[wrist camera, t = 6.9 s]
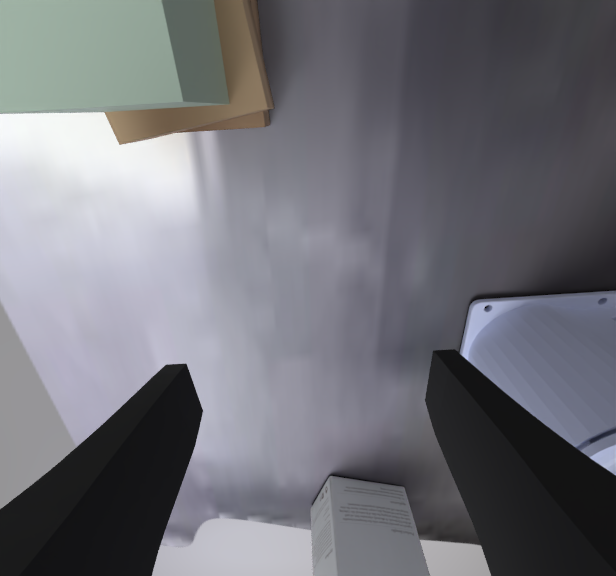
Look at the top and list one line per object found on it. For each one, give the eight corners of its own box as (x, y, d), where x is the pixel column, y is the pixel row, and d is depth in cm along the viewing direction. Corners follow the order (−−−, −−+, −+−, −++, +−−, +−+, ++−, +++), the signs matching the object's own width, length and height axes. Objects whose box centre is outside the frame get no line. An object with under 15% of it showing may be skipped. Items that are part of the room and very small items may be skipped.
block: (201, -83, 9) (108, -241, 5) (229, 104, 11) (182, 101, 7) (45, -69, 9) (-171, -214, 5) (104, 112, 11) (-11, 113, 7)
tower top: (230, -85, 10) (209, -137, 8) (274, 108, 13) (267, 108, 11) (77, -36, 11) (19, -72, 9) (150, 139, 14) (119, 144, 11)
